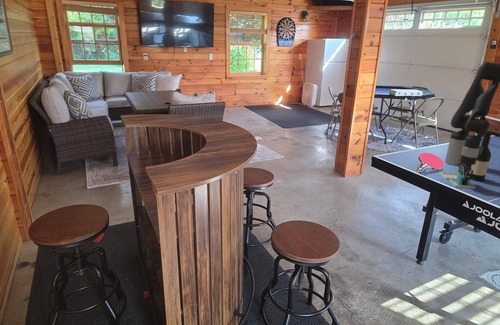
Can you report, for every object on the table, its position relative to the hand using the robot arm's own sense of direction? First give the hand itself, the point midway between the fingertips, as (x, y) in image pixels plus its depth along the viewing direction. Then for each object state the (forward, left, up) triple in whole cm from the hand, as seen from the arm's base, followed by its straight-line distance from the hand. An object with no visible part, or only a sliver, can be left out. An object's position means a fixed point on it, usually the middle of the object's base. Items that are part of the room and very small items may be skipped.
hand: (462, 183), depth 185 cm
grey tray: (-11, -2, -1) cm, 11 cm away
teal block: (0, 0, -1) cm, 1 cm away
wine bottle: (-12, +11, -1) cm, 16 cm away
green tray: (0, 0, -1) cm, 1 cm away
